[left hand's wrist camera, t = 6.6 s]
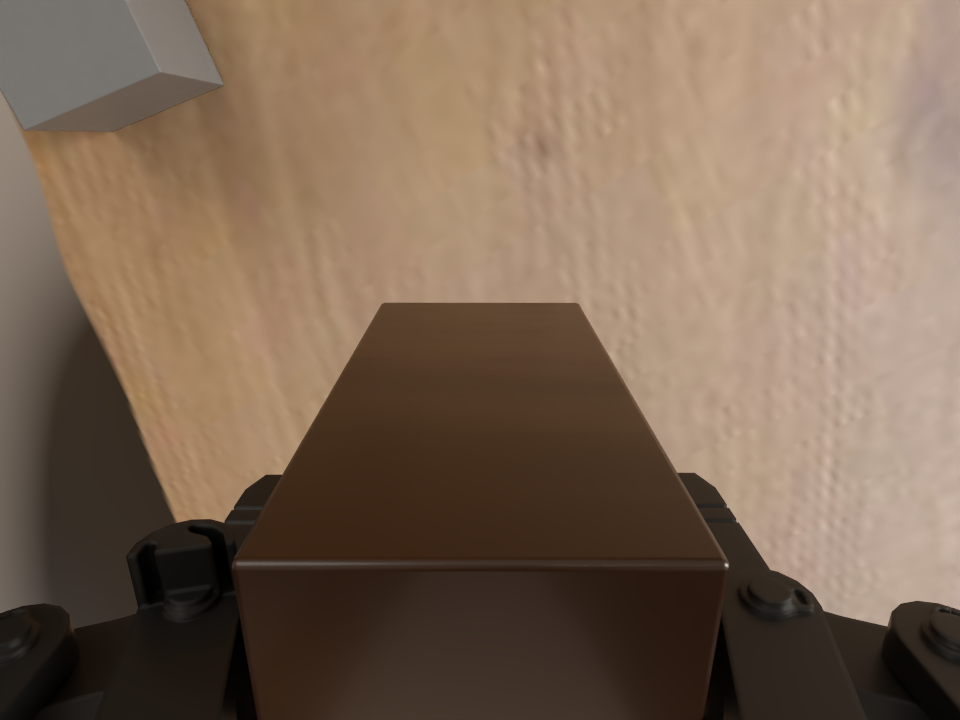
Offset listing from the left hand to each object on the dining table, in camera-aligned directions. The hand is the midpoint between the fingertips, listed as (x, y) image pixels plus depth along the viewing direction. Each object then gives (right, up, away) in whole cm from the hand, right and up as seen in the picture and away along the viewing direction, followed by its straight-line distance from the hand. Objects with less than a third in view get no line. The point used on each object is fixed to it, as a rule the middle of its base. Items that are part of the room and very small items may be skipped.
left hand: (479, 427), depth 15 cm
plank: (0, -9, +4) cm, 10 cm away
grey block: (-13, +14, +8) cm, 21 cm away
